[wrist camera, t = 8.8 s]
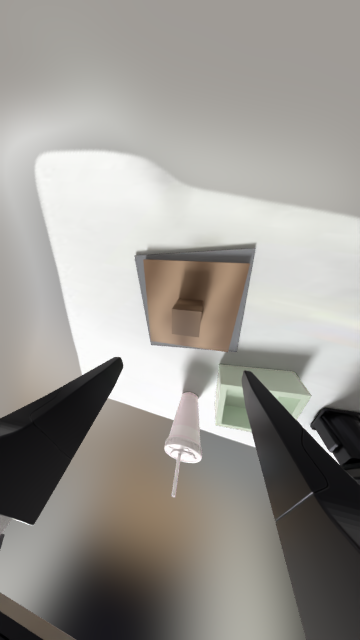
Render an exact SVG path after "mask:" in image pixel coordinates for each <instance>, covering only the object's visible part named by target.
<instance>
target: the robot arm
mask: <svg viewBox="0 0 360 640" xmlns="http://www.w3.org/2000/svg"><path fill="white" fill-rule="evenodd" d="M122 369H123V362H122V359H121V358H120V357H114V358H112V359H110V360H109V361H107V362H105V363H103V364H102V365H100V366H98V367H96V368H94V369H93V370H91V371H89V372H87V373H85V374H84V375H82V376H80V377H78V378H77V379H75V380H73V381H71V382H69V383H68V384H66V385H64V386H63V387H60V388H59V389H57V390H55V391H53V392H52V393H50V394H48V395H46V396H44V397H42V398H40V399H38V400H36V401H34V402H32V403H30V404H28V405H26V406H24V407H22V408H21V409H18V410H16V411H15V412H12V413H11V414H8V415H7V416H5V417H2V418H0V548H1V545H2V541H3V538H4V534H2V532H3V531H4V529H5V528H6V527H7V525H8V524H9V523H10V521H11V520H12V519H15V520H18V521H21V522H23V523H27V524H29V525H32V526H33V525H34V523H35V522H36V520H37V519H38V517H39V515H40V513H41V512H42V510H43V508H44V507H45V505H46V503H47V501H48V500H49V498H50V496H51V494H52V493H53V491H54V489H55V488H56V486H57V484H58V482H59V481H60V479H61V477H62V476H63V474H64V472H65V470H66V469H67V467H68V465H69V464H70V462H71V460H72V458H73V457H74V455H75V453H76V451H77V450H78V448H79V446H80V445H81V443H82V441H83V439H84V438H85V436H86V434H87V432H88V431H89V429H90V427H91V426H92V424H93V422H94V421H95V419H96V417H97V415H98V414H99V412H100V410H101V408H102V407H103V405H104V403H105V402H106V400H107V398H108V396H109V395H110V393H111V391H112V390H113V388H114V386H115V384H116V382H117V380H118V377H119V375H120V373H121V371H122ZM242 388H243V395H244V401H245V407H246V412H247V415H248V419H249V423H250V427H251V431H252V434H253V438H254V442H255V446H256V450H257V454H258V457H259V461H260V465H261V469H262V473H263V476H264V480H265V484H266V488H267V492H268V495H269V499H270V503H271V507H272V511H273V515H274V518H275V521H276V526H277V530H278V534H279V538H280V541H281V545H282V549H283V553H284V557H285V561H286V565H287V569H288V572H289V576H290V580H291V584H292V588H293V591H294V595H295V599H296V603H297V606H298V610H299V614H300V618H301V622H302V626H303V630H304V633H305V637H306V640H360V413H356V412H349V411H342V410H335V409H328V408H324V409H322V411H321V412H320V413H319V415H318V416H317V417H316V419H315V420H314V421H313V423H312V424H311V425H310V427H311V428H312V429H313V430H317V432H318V434H319V435H320V437H321V439H322V440H323V442H324V444H325V445H326V447H327V449H328V450H329V451H330V452H332V453H333V454H334V456H335V457H336V459H337V461H338V462H339V464H340V465H339V464H338V463H337V462H336V461H335V460H334V459H333V458H332V457H331V456H330V455H329V454H328V453H327V452H326V451H325V450H324V449H323V448H322V447H321V446H320V445H319V444H318V443H317V442H316V441H315V439H314V438H313V437H312V436H311V435H310V434H309V433H308V432H307V431H306V430H305V429H304V428H303V427H302V426H301V425H300V423H299V422H298V421H297V420H296V419H295V418H294V417H293V416H292V415H291V414H290V413H289V412H288V411H287V409H286V408H285V407H284V406H283V405H282V404H281V403H280V402H279V401H278V400H277V399H276V398H275V397H274V395H273V394H272V393H271V392H270V391H269V390H268V389H267V388H266V387H265V386H264V385H263V384H262V382H261V381H260V380H259V379H258V378H257V377H256V376H255V375H254V374H253V373H252V372H251V371H247V370H244V371H243V375H242ZM0 640H76V639H74V638H72V637H71V636H69V635H68V634H66V633H64V632H63V631H61V630H60V629H58V628H56V627H55V626H53V625H52V624H50V623H48V622H47V621H45V620H44V619H42V618H40V617H39V616H37V615H35V614H34V613H32V612H31V611H29V610H28V609H26V608H24V607H23V606H21V605H19V604H18V603H16V602H15V601H13V600H11V599H10V598H8V597H6V596H5V595H3V594H2V593H0Z"/></svg>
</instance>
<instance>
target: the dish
mask: <svg viewBox="0 0 360 640" xmlns="http://www.w3.org/2000/svg"><path fill="white" fill-rule="evenodd" d="M244 370H247V371H251V372H252V373H253V374H254V375H255V376H256V377H257V378H258V379H259V380H260V381H261V382H262V384H263V385H264V386H265V387H266V388H267V389H268V390H269V391H270V392H271V393H272V394H273V395H274V397H275V398H276V399H277V400H278V401H279V402H280V403H281V404H282V405H283V406H284V407H285V408H286V409H287V411H288V412H289V413H290V414H291V415H292V416H293V417H294V418H295V419H296V420H297V419H298V417H299V415H300V414H301V412H302V411H303V409H304V407H305V406H306V404H307V403H308V401H309V399H310V398H311V394H310V393H309V391H308V390H307V389H306V387H305V386H304V385H303V383H302V382H301V380H300V379H299V378H298V376H297V375H296V373H295V372H293V371H283V370H273V369H263V368H253V367H243V366H233V365H223V364H219V368H218V377H217V387H216V396H215V425H216V426H222V427H227V428H232V429H237V430H243V431H248V432H252V431H251V427H250V423H249V419H248V415H247V412H246V407H245V401H244V395H243V388H242V375H243V371H244Z"/></svg>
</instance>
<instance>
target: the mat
mask: <svg viewBox="0 0 360 640" xmlns="http://www.w3.org/2000/svg"><path fill="white" fill-rule="evenodd" d="M254 253H255V248H249V249H233V250H217V251H201V252H184V253H168V254H152V255H136V256H135V262H136V267H137V272H138V278H139V283H140V288H141V294H142V299H143V304H144V310H145V315H146V320H147V326H148V331H149V336H150V325H149V315H148V304H147V294H146V283H145V273H144V262H143V260H144V259H151V260H177V261H203V262H228V263H249V264H250V266H249V270H248V274H247V278H246V282H245V286H244V290H243V294H242V298H241V302H240V306H239V310H238V314H237V318H236V322H235V326H234V330H233V334H232V338H231V342H230V346H229V350H228V351H231V352H237V347H238V341H239V336H240V330H241V325H242V319H243V314H244V308H245V303H246V297H247V291H248V286H249V280H250V275H251V269H252V264H253V258H254ZM150 342H151V345H158V346H170V347H182V348H194V349H203V348H196V347H189V346H182V345H175V344H168V343H161V342H154V341H151V336H150ZM207 350H210V349H207Z"/></svg>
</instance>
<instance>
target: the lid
mask: <svg viewBox="0 0 360 640" xmlns="http://www.w3.org/2000/svg"><path fill="white" fill-rule="evenodd" d="M143 262H144V273H145V283H146V294H147V304H148V315H149V325H150V336H151V341H154V342H161V343H168V344H175V345H182V346H189V347H196V348H203V349H210V350H217V351H224V352H228V350H229V346H230V342H231V338H232V334H233V330H234V326H235V322H236V318H237V314H238V310H239V306H240V302H241V298H242V294H243V290H244V286H245V282H246V278H247V274H248V270H249V266H250V264H249V263H228V262H203V261H177V260H151V259H144V260H143Z"/></svg>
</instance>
